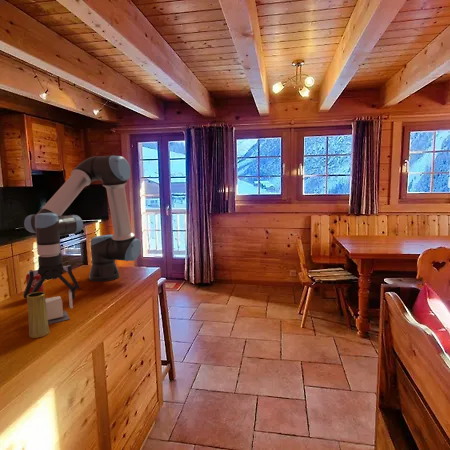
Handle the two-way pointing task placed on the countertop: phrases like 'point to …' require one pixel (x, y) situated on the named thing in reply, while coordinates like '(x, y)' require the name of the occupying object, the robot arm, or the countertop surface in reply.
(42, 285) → the beverage can
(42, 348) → the countertop surface
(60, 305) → the white rectangular block
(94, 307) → the countertop surface
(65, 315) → the gray peg base
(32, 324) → the vase
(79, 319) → the countertop surface
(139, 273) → the countertop surface
